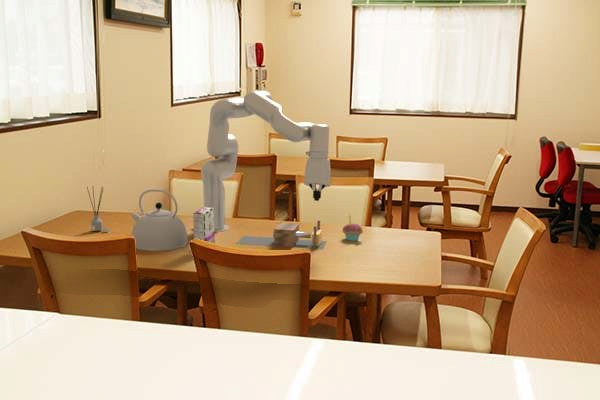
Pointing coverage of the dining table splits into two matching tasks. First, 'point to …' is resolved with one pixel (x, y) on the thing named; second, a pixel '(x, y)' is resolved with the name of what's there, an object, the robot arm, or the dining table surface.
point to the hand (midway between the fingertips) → (316, 200)
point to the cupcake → (352, 231)
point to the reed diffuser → (97, 217)
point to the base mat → (270, 242)
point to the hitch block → (290, 234)
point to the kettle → (158, 228)
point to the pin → (301, 234)
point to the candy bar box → (204, 224)
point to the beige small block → (317, 237)
